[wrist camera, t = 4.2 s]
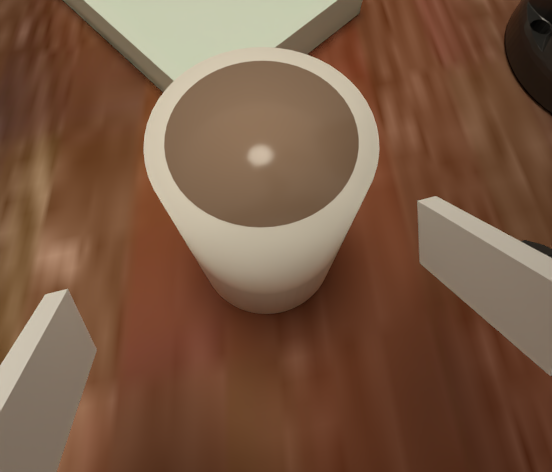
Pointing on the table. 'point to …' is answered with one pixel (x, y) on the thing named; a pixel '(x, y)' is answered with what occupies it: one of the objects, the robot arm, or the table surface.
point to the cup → (262, 170)
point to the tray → (208, 28)
